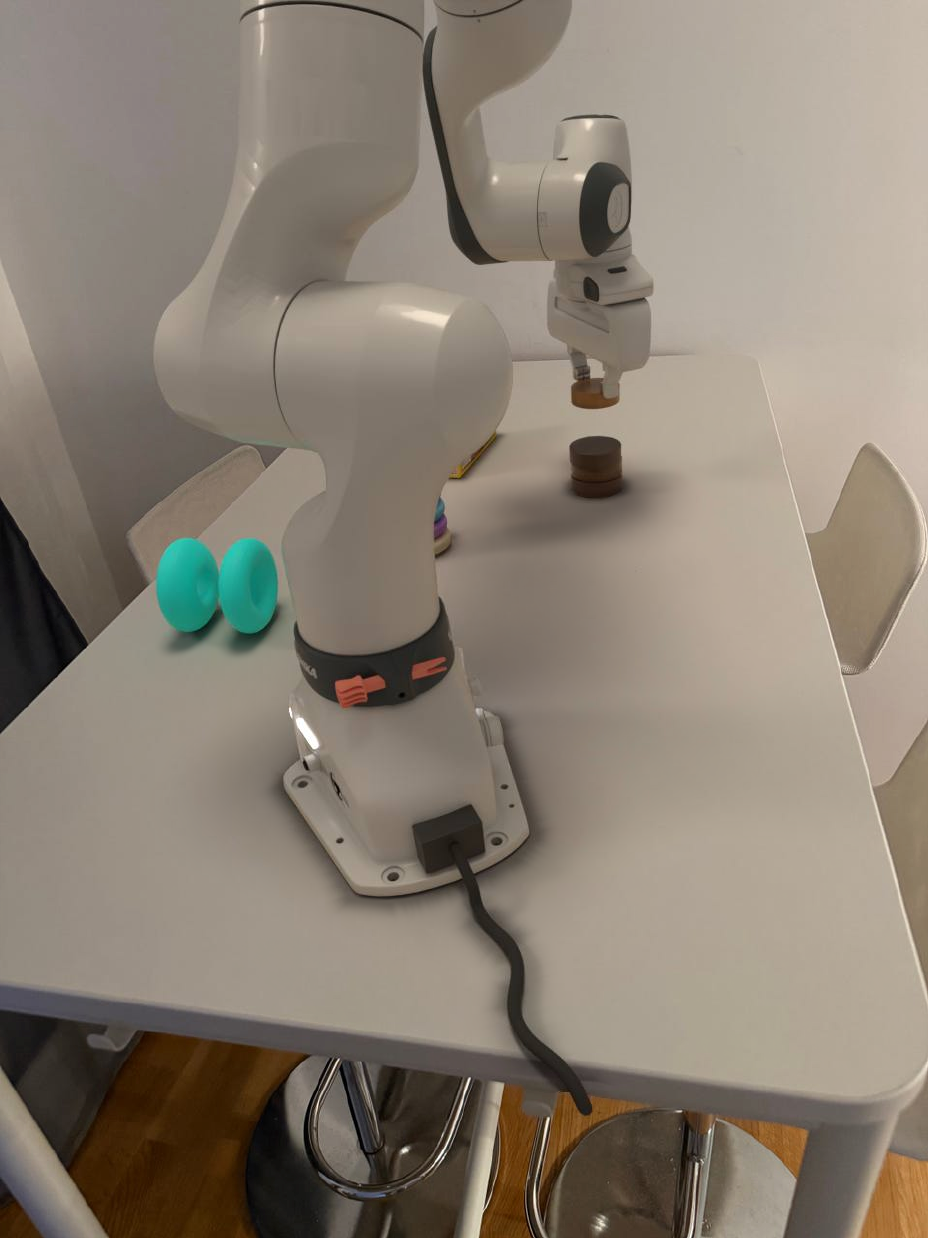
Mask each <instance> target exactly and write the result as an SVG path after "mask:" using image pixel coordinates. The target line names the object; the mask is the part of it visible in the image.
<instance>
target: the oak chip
mask: <svg viewBox="0 0 928 1238" xmlns="http://www.w3.org/2000/svg"><path fill="white" fill-rule="evenodd" d="M603 379H604V377H590V378H589V379H584V380H580V381H576V382H574V383H572V384H571V386H570V402H571V405H572V406H574V407H576V408H578V409H584V410H602V409H607V408H611V407H613V406H615V405H617V404H618V403H619V402H620V400H621V392H620V391H621V387H620V386H621V385H620V382H618V395H617V396H616V397H614V398H609V399H607V398H605V397H604V396H602V395H600V384H599V382H601V381H603Z"/></svg>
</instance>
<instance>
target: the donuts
mask: <svg viewBox="0 0 928 1238" xmlns="http://www.w3.org/2000/svg"><path fill="white" fill-rule="evenodd" d="M278 578H279V577H278V570H277V565H276V562H275V559H274V557H273V554H272V552H271V550H270V549H269V548H268V546H267V545H266V544H265V543H264V542H263V541H261V540H260V539H257V538H253V537H244V538H241V539H239V540H237V541H236V542H234V543H233V544H232V545H231V546H230V547H229V548H228V550H227V551H226V552H225V554H224V556H223V558H222V561H221V564H220V566H219V567H218V564H217V561H216V558H215V557H214V555H213V553H212V552H211V550H210V549H209V548H208V546H207V545H205V544H204V543H203V542H202V541H201V540H198V539H196V538H192V537H182V538H179V539H176V540H175V541H172V542H171V544H170V545H168V547H167V548H166V549H165V550H164V552H163V554H162V555H161V558H160V560H159V563H158V567H157V571H156V581H155V590H156V599H157V602H158V606H159V609H160V612H161V615H162V616H163V618H164V619H165V621H166V622H167V623H168V624H169V626H171V627H172V628H174V629H175V630H177V631H180V632H183V633H192V632H196V631H198V630H200V629H202V628H203V627H205V626H206V625H207V624H208V623H209V621H210V619H212V617H213V615H214V614H215V612H216V609H217V606H218V602H219V604H220V607H221V611H222V613H223V616H224V618H225V619H226V621H227V622H228V623H229V625H230V626H232V628H234V630H236V631H238V632H240V633H243V634H255V633H258V632H260V631H262V630H263V629H265V627H266V626H267V625H268V624H269V623H270V621H271V619H272V617H273V615H274V613H275V609H276V606H277V601H278V593H279V579H278Z"/></svg>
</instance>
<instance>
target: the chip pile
mask: <svg viewBox="0 0 928 1238" xmlns="http://www.w3.org/2000/svg"><path fill="white" fill-rule="evenodd" d="M568 447H569V448H568V450H569V453H568V454H569V463H570V488H571V491H572V492H573V494H575V495H577V496H579V497H583V498H588V499H599V498H600V499H601V498H607V497H610V496H611V497H612V496H613V495H616V494H618V493H619V492H621V490H622V489H623V488H622V487H623V456H622V443H621V441H620V440H619V439H617V438H615V437H612V436H606V435H592V436H591V435H589V436H585V437H580V438H577V439H575V440H573V441H572V442H570V444H569V446H568Z"/></svg>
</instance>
